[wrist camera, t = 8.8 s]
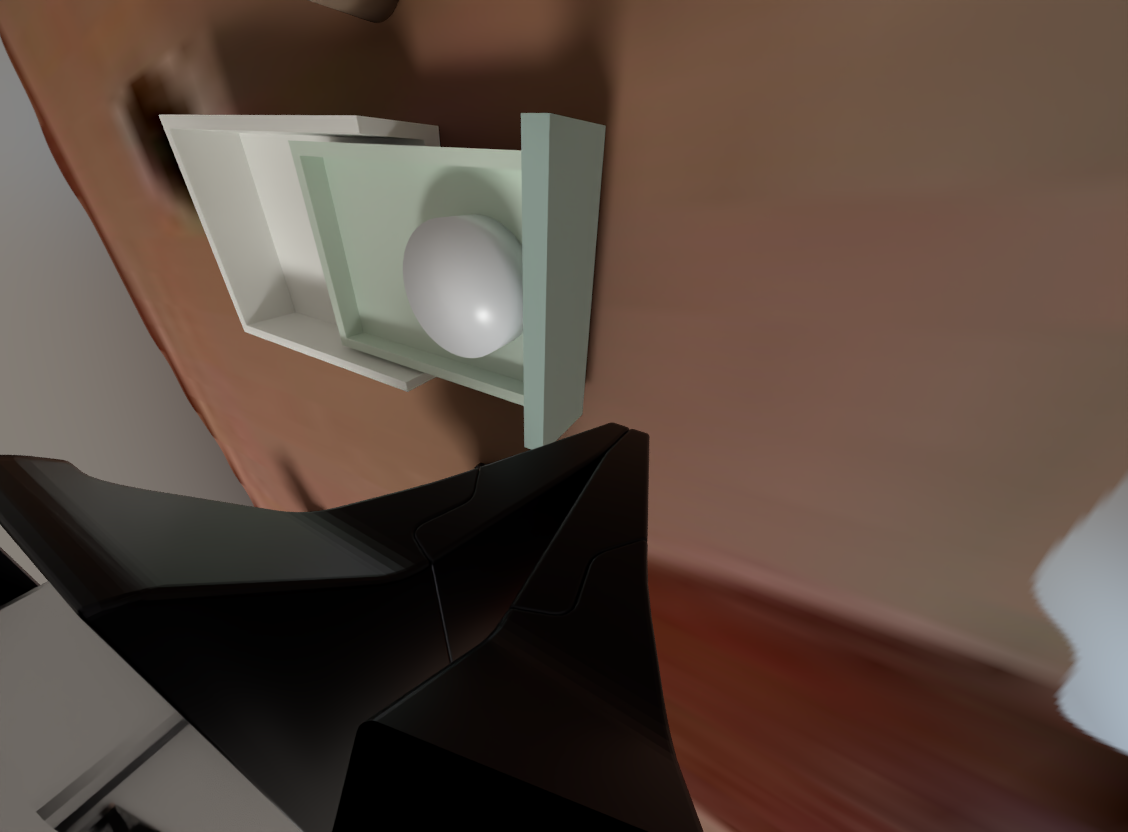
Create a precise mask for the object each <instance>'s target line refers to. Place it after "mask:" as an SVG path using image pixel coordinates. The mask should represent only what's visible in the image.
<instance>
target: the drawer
mask: <svg viewBox="0 0 1128 832" xmlns="http://www.w3.org/2000/svg"><path fill="white" fill-rule="evenodd" d="M605 129H606V126H605V125H600V124H596V123H592V122H587V121H583V120H578V119H574V118H569V117H565V116H561V115H556V114H552V113H521V150H499V149H476V148H453V147H430V146H406V145H383V144H360V143H337V142H313V141H290V140H288V142H289V146H290V149H291V153H292V157H293V161H294V165H295V168H296V172H297V176H298V180H299V183H300V187H301V191H302V195H303V198H304V202H305V206H306V210H307V213H308V217H309V221H310V225H311V228H312V232H313V236H314V240H315V243H316V247H317V251H318V255H319V258H320V262H321V266H322V270H323V273H324V277H325V281H326V285H327V288H328V292H329V296H330V300H331V303H332V307H333V311H334V315H335V319H336V322H337V326H338V330H339V334H340V337H341V341H342V345H344V346H347V347H350V348H353V349H356V350H359V351H362V352H365V353H368V354H371V355H374V356H377V357H380V358H383V359H386V360H389V361H392V362H394V363H397V364H400V365H403V366H406V367H409V368H412V369H415V370H418V371H421V372H424V373H427V374H430V375H433V376H436V377H439V378H442V379H445V380H448V381H451V382H454V383H457V384H460V385H463V386H466V387H469V388H472V389H475V390H478V391H481V392H484V393H487V394H490V395H493V396H496V397H499V398H501V399H504V400H507V401H510V402H513V403H516V404H519V405H522V406H524V447H526V448H529V449H531V450H532V449H535V448H538V447H541V446H544V445H546V444H549V443H552V442H555V441H556V440H557V439H558V438H559V437H560V436H561V435H562V434H563V433H564V432H565V431H566V430H567V429H568V428H569V427H570V426H571V425H572V424H573V423H574V422H575V421H576V420H577V419H578V418H579V417H580V416H581V415H582V412H583V399H584V387H585V375H586V362H587V350H588V338H589V325H590V313H591V301H592V289H593V276H594V264H595V252H596V239H597V227H598V215H599V203H600V190H601V178H602V166H603V153H604V141H605ZM470 214H478V215H484V216H487V217H490V218H492V219H494V220H496V221H498V222H500V223H501V224H503V225H504V226H505V227H506V228H507V229H509V230H510V231H511V233H512V234H513V235H514V236H515V237H516V238H517V240H518V241H519V242H520V244H521V245H522V268H523V333H522V334H521V335H520V336H519V337H518V338H517V339H515V340H514V341H512V342H510V343H508V344H506V345H504V346H503V347H501V348H499V349H497V350H495V351H493V352H492V353H490V354H488V355H485V356H483V357H478V358H465V357H461V356H457V355H455V354H452V353H450V352H449V351H447V350H445V349H444V348H442V347H441V346H439V345H438V344H437V343H436V342H435V341H434V340H433V339H432V338H431V337H430V336H429V335H428V334H427V333H426V332H425V330H424V329H423V328H422V326H421V325H420V323H419V322H418V320H417V318H416V316H415V315H414V313H413V311H412V308H411V306H410V303H409V301H408V298H407V294H406V291H405V286H404V280H403V258H404V252H405V248H406V245H407V243H408V240H409V238H410V237H411V235H412V233H413V232H414V231H415V230H416V228H417V227H418V226H420V225H421V224H422V223H424V222H426V221H427V220H430V219H433V218H439V217H449V216H460V215H470Z"/></svg>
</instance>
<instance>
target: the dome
mask: <svg viewBox="0 0 1128 832" xmlns="http://www.w3.org/2000/svg"><path fill="white" fill-rule="evenodd" d="M403 280H404V286H405V291H406V294H407V298H408V301H409V303H410V306H411V308H412V311H413V313H414V315H415V316H416V318H417V320H418V322H419V323H420V325H421V326H422V328H423V329H424V330H425V332H426V333H427V334H428V335H429V336H430V337H431V338H432V339H433V340H434V341H435V342H436V343H437V344H438V345H439V346H441V347H442V348H444V349H445V350H447V351H449V352H450V353H452V354H455V355H457V356H461V357H465V358H478V357H483V356H485V355H488V354H490V353H492V352H493V351H495V350H497V349H499V348H501V347H503V346H504V345H506V344H508V343H510V342H512V341H514V340H515V339H517V338H518V337H519V336H520V335H521V334H522V333H523V268H522V245H521V244H520V242H519V241H518V240H517V238H516V237H515V236H514V235H513V234H512V233H511V231H510V230H509V229H507V228H506V227H505V226H504V225H503V224H501V223H500V222H498V221H496V220H494V219H492V218H490V217H487V216H484V215H478V214H470V215H460V216H449V217H439V218H433V219H430V220H427V221H426V222H424V223H422V224H421V225H420V226H418V227H417V228H416V230H415V231H414V232H413V233H412V235H411V237H410V238H409V240H408V243H407V245H406V248H405V252H404V258H403Z"/></svg>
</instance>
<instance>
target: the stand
mask: <svg viewBox="0 0 1128 832" xmlns="http://www.w3.org/2000/svg"><path fill="white" fill-rule="evenodd" d="M309 1H312V2H315V3H318V4H320V5H323V6H326V7H329V8H332V9H335V10H338V11H341V12H344V13H347V14H350V15H353V16H356V17H359V18H362V19H365V20H368V21H371V22H382V21H384V20H386V19H387V18H388V17H389V16H390V15H391V14H392V13H393V11H394V9H395V8H396V6H397V3H398V1H399V0H309Z"/></svg>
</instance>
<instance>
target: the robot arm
mask: <svg viewBox="0 0 1128 832" xmlns="http://www.w3.org/2000/svg"><path fill="white" fill-rule="evenodd" d="M648 484H649V435H648V434H647V433H644V432H641V431H638V430H635V429H630V430H629V428H628V427H625V426H622V425H619V424H616V423H608V424H605V425H602V426H599V427H596V428H593V429H591V430H588V431H585V432H582V433H579V434H576V435H573V436H570V437H567V438H564V439H561V440H558V441H555V442H552V443H549V444H546V445H544V446H541V447H538V448H535V449H532V450H529V451H526V452H523V453H520V454H517V455H514V456H511V457H508V458H505V459H502V460H499V461H496V462H494V463H491V464H488V465H485V464H483V463H479V464H478V465H477V466H476V467H475V469H473V470H470V471H467V472H464V473H461V474H458V475H455V476H451V477H448V478H445V479H442V480H439V481H436V482H432V483H429V484H425V485H421V486H418V487H414V488H410V489H407V490H403V491H399V492H395V493H391V494H387V495H383V496H379V497H376V498H372V499H368V500H364V501H360V502H356V503H352V504H348V505H344V506H340V507H336V508H332V509H327V510H322V511H314V512H284V511H276V510H270V509H264V508H257V507H251V506H245V505H238V504H233V503H226V502H220V501H214V500H207V499H202V498H195V497H189V496H183V495H177V494H170V493H164V492H157V491H151V490H145V489H140V488H135V487H129V486H124V485H119V484H115V483H111V482H107V481H102V480H99V479H97V478H94V477H91V476H88V475H87V474H85V473H83V472H81V471H80V470H79V469H78V468H77V467H75V466H74V465H73V464H71V463H70V462H68V461H65V460H59V459H50V458H42V457H33V456H21V455H0V524H1V526H2V527H3V528H4V529H5V530H6V531H7V533H8V534H9V535H10V536H11V537H12V539H13V540H14V541H15V542H16V543H17V545H19V547H20V548H21V549H22V550H23V552H24V553H25V554H26V555H27V556H28V557H29V559H30V560H31V561H32V562H33V563H34V565H35V566H36V567H37V568H38V569H39V570H40V572H41V573H42V574H43V575H44V576H45V578H46V579H47V580H48V582H46V583H44V584H42V585H40V584H39V583H37V582H36V581H35V580H34V579H33V578H32V577H31V576H30V575H29V574H28V573H27V572H26V571H25V570H24V569H23V568H22V567H21V566H19V564H18V563H16V562H15V561H14V560H13V559H12V558H11V557H10V556H9V555H8V554H7V553H6V552H5V551H4V550H3V549H2V548H1V547H0V832H703V829H702V826H701V824H700V821H699V818H698V816H697V813H696V810H695V807H694V805H693V802H692V799H691V797H690V794H689V791H688V789H687V786H686V783H685V780H684V778H683V775H682V772H681V770H680V767H679V764H678V761H677V758H676V754H675V750H674V747H673V743H672V738H671V734H670V730H669V725H668V720H667V715H666V709H665V703H664V698H663V691H662V685H661V678H660V671H659V664H658V658H657V651H656V644H655V638H654V631H653V624H652V617H651V609H650V600H649V590H648V571H647V548H648V544H647V536H648Z"/></svg>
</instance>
